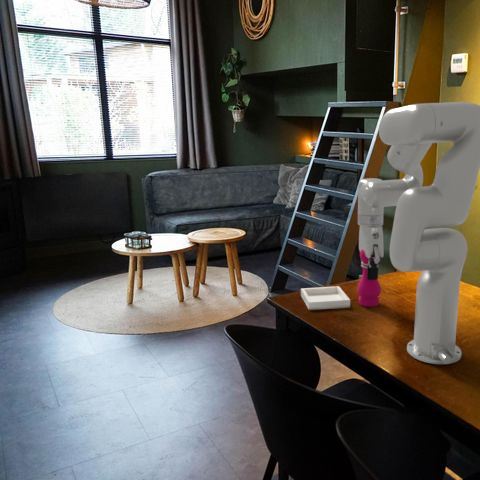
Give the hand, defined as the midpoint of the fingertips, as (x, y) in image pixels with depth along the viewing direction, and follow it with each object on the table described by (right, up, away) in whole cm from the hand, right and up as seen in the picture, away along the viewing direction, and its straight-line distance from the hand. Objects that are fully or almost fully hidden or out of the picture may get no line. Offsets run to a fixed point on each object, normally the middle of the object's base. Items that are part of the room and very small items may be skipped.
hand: (369, 276), depth 153 cm
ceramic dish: (-13, -9, +6) cm, 17 cm away
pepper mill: (0, -9, +2) cm, 9 cm away
